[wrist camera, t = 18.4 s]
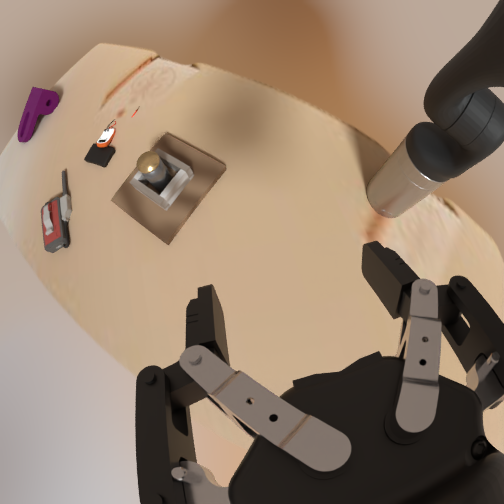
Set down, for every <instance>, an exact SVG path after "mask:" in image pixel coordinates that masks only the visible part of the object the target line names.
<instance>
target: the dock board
mask: <svg viewBox="0 0 504 504" xmlns="http://www.w3.org/2000/svg"><path fill="white" fill-rule="evenodd" d="M150 151H154V152H156V153H157V154H158V156H159V157H160V159H161V160H162V162H163V163H164V165H165V166H166V167H167V169H168V170H169V172H170V173H171V175H172V176H173V179H172V180H171V181H170V183H169V184H168V185H167V186H166V188H165V189H164V190H163V192H162V193H161V192H158V191H157V190H156V189H155V188H154V187H153V186H152V185H151V183H150V182H149V181H148V180H147V179H146V178H145V177H144V176H143V174H142V173H141V172H140V171H139V170H138V168H137V167H136V168H135V169H134V171H133V172H132V173H131V174H130V176H129V177H128V178H127V179H126V181H125V182H124V183H123V185H122V186H121V187H120V189H119V190H118V191H117V193H116V194H115V195H114V197H113V198H112V199H111V201H112V202H113V203H115V204H116V205H117V206H118V207H120V208H121V209H122V210H123V211H125V212H126V213H127V214H128V215H130V216H131V217H132V218H133V219H135V220H136V221H137V222H139V223H140V224H141V225H142V226H144V227H145V228H146V229H148V230H149V231H150V232H151V233H153V234H154V235H155V236H157V237H158V238H159V239H161V240H162V241H163V242H165V243H166V244H167V245H169V244H170V243H171V241H172V240H173V238H174V237H175V236H176V234H177V233H178V232H179V230H180V229H181V227H182V226H183V225H184V223H185V222H186V221H187V219H188V218H189V217H190V215H191V214H192V213H193V211H194V210H195V209H196V207H197V206H198V205H199V203H200V202H201V201H202V200H203V198H204V197H205V196H206V194H207V193H208V192H209V191H210V189H211V188H212V187H213V186H214V184H215V183H216V182H217V180H218V179H219V178H220V177H221V176H222V174H223V173H224V172H225V171H226V166H225V165H223V164H222V163H220V162H218V161H216V160H215V159H213V158H211V157H209V156H207V155H206V154H204V153H202V152H200V151H198V150H197V149H195V148H193V147H191V146H189V145H187V144H185V143H184V142H182V141H180V140H178V139H176V138H174V137H172V136H170V135H168V134H166V133H165V135H164V136H163V137H162V138H161V139H160V140H159V141H158V142H157V143H156V145H155V146H154V147H153V148H152V149H151V150H150Z"/></svg>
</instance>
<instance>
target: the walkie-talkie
mask: <svg viewBox="0 0 504 504" xmlns="http://www.w3.org/2000/svg"><path fill="white" fill-rule="evenodd" d="M62 186H63V197H61V198H59V197H56V198H54V199H53V200H51V201H50V202H47V203H46V204H45V205H44V206H43V207H42V209H41V218H42V228H43V239H44V248H45V250H46V251H48V252H51V253H54V252H55V251H57V250H59V249H60V248H62V247H64V248H68V247H69V235H68V229H67V222H68V221H69V218H70V215H71V213H72V209H71V197H70V196H69V195H68V193H67V187H66V176H65V171H62Z"/></svg>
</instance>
